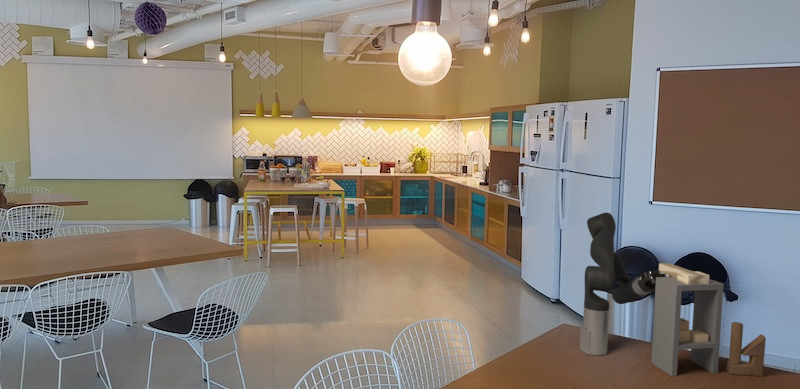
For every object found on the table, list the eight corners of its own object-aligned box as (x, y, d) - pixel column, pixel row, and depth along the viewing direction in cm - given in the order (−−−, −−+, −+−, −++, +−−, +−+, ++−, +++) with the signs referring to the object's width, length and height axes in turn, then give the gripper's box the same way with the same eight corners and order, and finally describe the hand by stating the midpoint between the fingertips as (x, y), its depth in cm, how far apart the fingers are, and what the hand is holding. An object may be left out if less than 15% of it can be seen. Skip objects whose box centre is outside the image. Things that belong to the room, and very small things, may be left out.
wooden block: (763, 376, 208) (766, 326, 206) (730, 374, 209) (733, 324, 208) (758, 372, 212) (762, 323, 210) (726, 370, 213) (729, 321, 211)
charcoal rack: (671, 375, 208) (676, 285, 205) (651, 362, 219) (656, 277, 216) (717, 372, 211) (723, 283, 208) (695, 360, 223) (700, 275, 219)
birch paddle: (688, 284, 206) (688, 275, 206) (653, 271, 226) (654, 263, 226) (708, 283, 208) (709, 275, 208) (672, 270, 227) (673, 263, 227)
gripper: (627, 275, 238) (649, 262, 224) (659, 274, 241) (683, 261, 226) (631, 293, 235) (654, 281, 220) (664, 292, 238) (688, 280, 223)
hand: (669, 271), depth 223 cm, fingers open, 8 cm apart
